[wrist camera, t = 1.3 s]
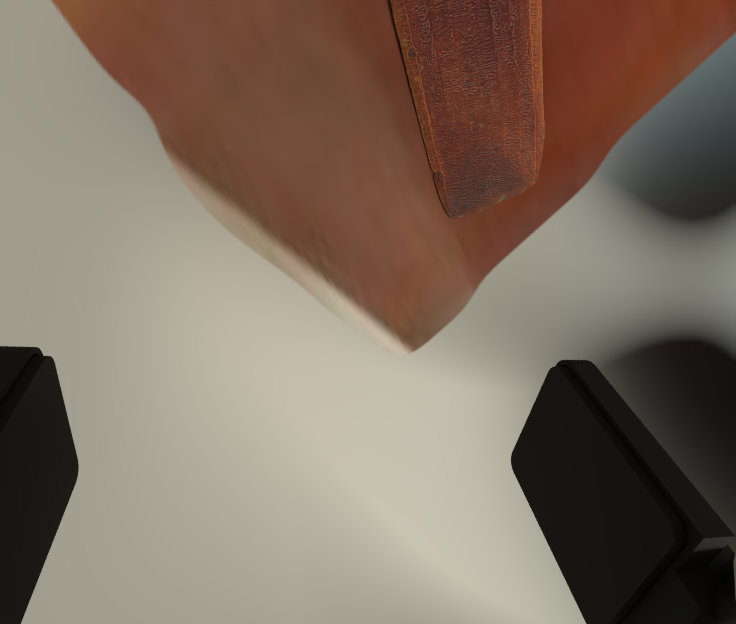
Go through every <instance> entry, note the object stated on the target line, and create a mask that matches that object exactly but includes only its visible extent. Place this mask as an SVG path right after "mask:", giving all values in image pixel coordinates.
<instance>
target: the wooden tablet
mask: <svg viewBox="0 0 736 624" xmlns="http://www.w3.org/2000/svg"><path fill="white" fill-rule="evenodd" d="M390 3H391V7H392V12H393V17H394V21H395V26H396V30H397V33H398V37H399V41H400V45H401V49H402V53H403V58H404V62H405V66H406V70H407V74H408V78H409V83H410V87H411V91H412V95H413V99H414V103H415V107H416V111H417V115H418V119H419V123H420V127H421V131H422V135H423V139H424V143H425V147H426V150H427V155H428V158H429V162H430V166H431V170H432V171H433V172H434V180H435V183H436V186H437V190H438V193H439V196H440V199H441V202H442V204H443V206H444V208H445V210H446V212H447V214H448V215H449V216H450V217H451V218H454V219H457V218H460V217H466V216H469V215H471V214H473V213H477V212H480V211H485V210H488V209H490V208H492V207H494V206H496V205H497V204H498V202H500V201H501V200H507V199H509V198H512V197H515V196H517V195H519V194H521V193H522V192H523V191H525V190H526V189H527V188H529V187H531V186H532V185H534V184H535V182H536V180H537V178H538V175H539V168H540V164H541V158H542V151H543V145H544V107H543V83H542V4H541V0H390Z"/></svg>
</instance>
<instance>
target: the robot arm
mask: <svg viewBox="0 0 736 624" xmlns="http://www.w3.org/2000/svg"><path fill="white" fill-rule="evenodd" d="M511 465H512V469H513V472H514V474H515V476H516V478H517V480H518V482H519V484H520V486H521V488H522V491H523V492H524V495H525V497H526V499H527V501H528V503H529V505H530V507H531V509H532V511H533V513H534V516H535V518H536V520H537V522H538V524H539V526H540V528H541V530H542V532H543V534H544V536H545V538H546V540H547V543H548V545H549V547H550V549H551V551H552V553H553V555H554V557H555V559H556V561H557V563H558V565H559V568H560V570H561V571H562V574H563V576H564V578H565V580H566V582H567V584H568V586H569V588H570V591H571V593H572V595H573V597H574V599H575V601H576V603H577V605H578V607H579V609H580V611H581V613H582V616H583V617H584V620H585V622H586V623H587V624H736V553H734V552H733V551H732V549H730V547H729V546H728V544H729V543H730V542H731V540H732V539H733V538H734V537H735V535H734V534H733V533H732V532H731V531H730V529H729V528H728V527H727V526H726V524H725V523H724V522H723V521H722V520H721V518H720V517H719V516H718V515H717V513H716V512H715V511H714V510H713V509H712V508H711V506H710V505H709V504H708V502H707V501H706V500H705V499H704V498H703V497H702V495H701V494H700V493H699V492H698V490H697V489H696V488H695V487H694V486H693V484H692V483H691V482H690V481H689V479H688V478H687V477H686V476H685V474H684V473H683V472H682V471H681V470H680V468H679V467H678V466H677V465H676V464H675V462H674V461H673V460H672V459H671V457H670V456H669V455H668V454H667V452H666V451H665V450H664V449H663V448H662V446H661V445H660V444H659V443H658V442H657V440H656V439H655V438H654V437H653V435H651V433H650V432H649V431H648V429H647V428H646V427H645V426H644V425H643V423H642V422H641V421H640V420H639V419H638V417H637V416H636V415H635V414H634V413H633V411H632V410H631V409H630V407H629V406H628V405H627V404H626V402H625V401H624V400H623V399H622V398H621V396H620V395H619V394H618V393H617V392H616V390H615V389H614V388H613V387H612V386H611V384H610V383H609V382H608V381H607V379H606V378H605V377H604V376H603V375H602V373H601V372H600V371H599V370H598V368H597V367H596V366H595V365H594V364H593V363H592V362H590V361H587V360H561V361H559V362H558V363H557V365H556V366H555V367H552V368H551V369H550V370H549V372H548V374H547V376H546V378H545V380H544V383H543V385H542V387H541V389H540V392H539V394H538V396H537V398H536V401H535V403H534V405H533V407H532V409H531V412H530V414H529V416H528V418H527V421H526V423H525V425H524V427H523V430H522V432H521V434H520V436H519V438H518V441H517V443H516V445H515V447H514V450H513V452H512V455H511ZM77 476H78V459H77V454H76V450H75V446H74V442H73V438H72V433H71V429H70V425H69V421H68V417H67V413H66V408H65V404H64V400H63V396H62V391H61V387H60V383H59V379H58V375H57V370H56V366H55V362H54V360H53V358H52V357H51V356H43V354H42V352H41V350H40V349H39V348H37V347H8V346H5V347H4V346H0V624H21V621H22V619H23V616H24V614H25V611H26V609H27V606H28V604H29V601H30V599H31V596H32V593H33V591H34V588H35V586H36V583H37V581H38V578H39V576H40V573H41V570H42V568H43V565H44V563H45V560H46V558H47V555H48V553H49V550H50V548H51V545H52V542H53V540H54V537H55V535H56V532H57V530H58V527H59V525H60V522H61V519H62V517H63V514H64V512H65V509H66V507H67V504H68V502H69V499H70V496H71V494H72V491H73V489H74V486H75V483H76V480H77Z"/></svg>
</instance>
